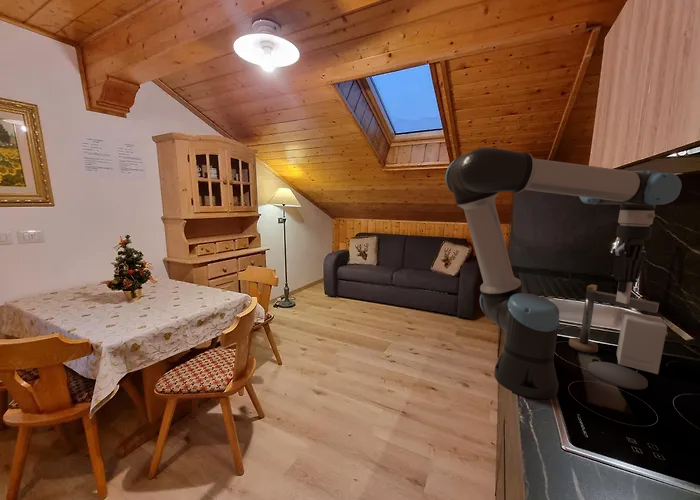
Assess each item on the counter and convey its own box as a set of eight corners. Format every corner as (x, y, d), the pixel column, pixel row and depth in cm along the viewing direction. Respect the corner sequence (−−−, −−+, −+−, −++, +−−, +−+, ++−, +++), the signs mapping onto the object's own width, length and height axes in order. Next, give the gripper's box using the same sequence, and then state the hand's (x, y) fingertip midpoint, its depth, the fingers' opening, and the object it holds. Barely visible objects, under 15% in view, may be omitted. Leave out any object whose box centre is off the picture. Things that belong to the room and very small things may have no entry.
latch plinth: (588, 354, 100) (588, 350, 100) (563, 343, 107) (563, 339, 107) (603, 350, 103) (604, 346, 103) (578, 340, 110) (578, 336, 110)
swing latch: (577, 343, 104) (585, 286, 101) (581, 339, 108) (589, 284, 104) (646, 364, 91) (658, 299, 88) (649, 359, 94) (660, 296, 91)
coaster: (630, 393, 80) (630, 391, 79) (577, 368, 91) (578, 366, 91) (658, 383, 84) (658, 381, 84) (604, 360, 96) (605, 358, 96)
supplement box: (659, 375, 89) (668, 326, 86) (618, 365, 94) (626, 318, 92) (653, 362, 96) (662, 317, 93) (615, 353, 101) (623, 310, 99)
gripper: (635, 226, 84) (622, 308, 88) (664, 225, 89) (651, 303, 92) (605, 224, 91) (594, 300, 95) (633, 223, 96) (622, 296, 99)
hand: (622, 302), depth 94 cm, fingers closed
